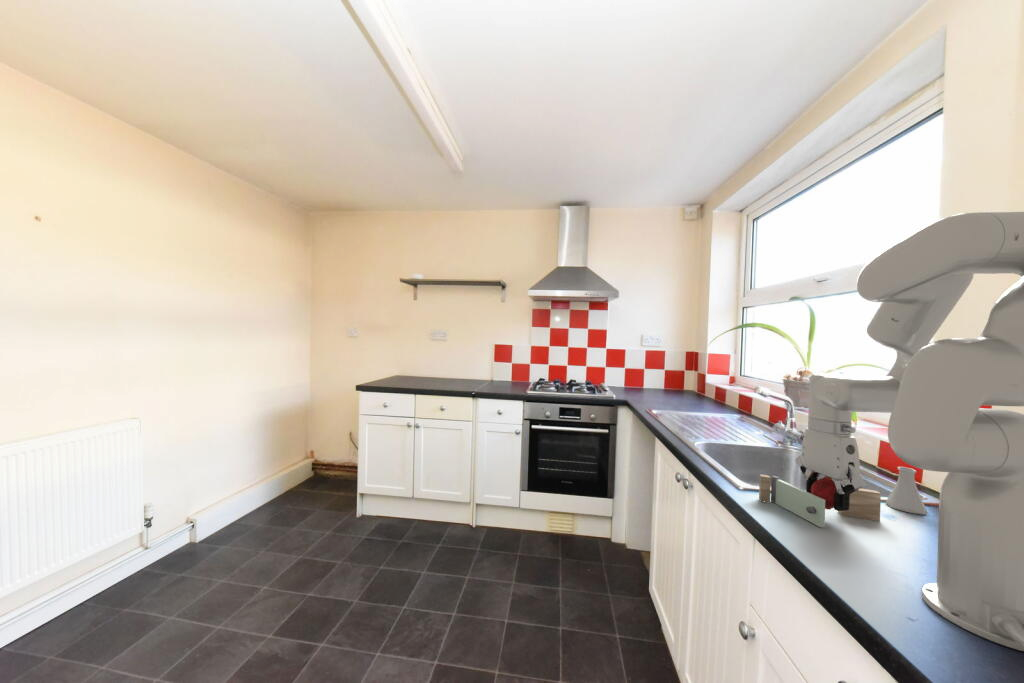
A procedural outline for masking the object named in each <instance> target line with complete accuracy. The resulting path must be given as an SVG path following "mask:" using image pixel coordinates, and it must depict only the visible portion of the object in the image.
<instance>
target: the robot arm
mask: <svg viewBox="0 0 1024 683" xmlns="http://www.w3.org/2000/svg"><path fill="white" fill-rule="evenodd" d="M975 274H977V275H978V274H984V275H985V274H986V275H989V274H992V275H993V274H996V275H997V274H998V275H999V274H1015V275H1018V276H1020V277H1021V278H1020V280H1018V281H1017V282H1016V283H1014V284H1013V285H1011V287H1009V288H1008V289H1007V290H1006V291H1005V292H1003V294H1001V295H1000V297H999V298H998V299H997V300H996V302H995V303H994V305H993V306H992V308H991V310H990V312H989V314H988V315H989V316H988V319H987V322H986V324H985V326H984V328H983V331H982V332H981V334H980V336H979V337H977V338H975V337H972V338H970V337H955V338H954V337H953V338H945V339H939V340H935V341H932V339H933V338H934V337H935V335H936V333H937V332H938V331H939V329H940V328H941V326H942V325H943V323H944V322H945V321H946V319H947V318H948V316H949V315H950V313H952V311H953V309H955V306H956V305H957V303H958V302H959V301H960V300H961V298H962V296H963V295H964V294H965V292H966V290H967V289H968V288H969V287H970V285H971V283H972V281H973V280H974V275H975ZM856 290H857V292H858V294H859V296H861V298H863V299H865V300H867V301H870V302H874V303H880V305H879V307H878V309H877V310H876V312H875V314H874V316H873V317H872V318H871V321H870V322H869V324H868V325H867V327H866V333H867V336H869V338H871V339H872V340H873V341H874V342H876V343H879V344H880V345H881V346H884V347H886V348H888V349H892V350H894V351H896V360H895V362H894V364H893V366H892V367H891V369H890V370H889V371H888V373H887V374H886V375H885V376H866V375H865V376H863V375H862V376H861V375H860V376H859V375H858V376H855V375H847V374H839V373H831V372H828V373H827V372H820V373H819V372H816V373H813V374H811V375H810V377H809V380H808V382H809V383H808V384H809V385H808V386H809V387H808V388H809V389H808V411H807V412H808V415H807V427H806V428H805V432H804V435H803V439H802V445H801V446H802V447H801V454H800V455H799V456H798V457H796V458H795V463H796V464H797V466H798V467H799V468H800V471H801V473H802V475H803V478H804V480H805V481H806V482H805V483H806V488H805V489H806V490H805V491H806V492H809V493H811V486H812V484H813V483H814V482H816V481H817V480H819V477H820V475H823V476H824V477H825V476H827V477H830V478H832V480H833V481H834V482H835V485H836V489H837V492H835V493H834V508H833V509H834V510H835V511H837V512H838V511H847V510H849V504H850V494H853V492H855V491H857V490H859V489H864V487H867V482H866V481H865V480H864V478H863V477H862V475H861V464H860V453H859V447H858V443H857V439H856V437H855V436H853V435H852V434H855V433H856V431H857V430H856V428H855V427H854V426H852V420H853V413H855V412H856V413H880V414H881V413H884V414H885V413H886V414H888V413H889V414H890V417H889V420H888V425H887V426H888V427H887V438H888V439H887V440H888V442H889V445H890V448H891V449H892V451H893V452H894V454H895V455H896V456H897V458H899V459H901V461H902V462H904V463H906V464H908V465H910V466H911V467H915V468H916V469H920V470H924V471H929V472H936V473H937V472H938V473H939V472H940V473H947V474H946V476H945V478H944V479H943V482H942V483H941V486H940V492H939V505H938V525H937V526H938V529H937V531H938V532H937V563H936V564H937V565H936V582H931V583H925V584H923V585H922V587H921V590H920V591H921V592H920V593H921V598H922V599H923V601H924V602H925V603H926V604H927V605H928V606H929V607H930V608H931V609H932V610H933V611H934V612H936V613H937V614H939V615H940V616H942V617H943V618H944V619H946V620H948V621H949V622H951V623H953V624H954V625H957V626H958V627H961V628H962V629H964V630H965V631H966V630H967V631H969V632H971V633H972V634H975V635H976V636H979V637H981V638H983V639H986V640H988V641H991V642H993V643H996V644H999V645H1002V646H1005V647H1007V648H1011V649H1013V650H1014V649H1015V650H1017V651H1021V652H1024V413H1021V412H1018V411H1017V412H1016V411H1011V410H1007V409H999V408H983V407H981V406H992V407H994V406H995V407H996V406H997V407H1024V211H995V212H994V211H993V212H992V211H991V212H986V211H985V212H983V211H982V212H981V211H980V212H965V213H958V214H953V215H949V216H947V217H944V218H941V219H938V220H936V221H934V222H932V223H930V224H928V225H926V226H924V227H923V228H921V229H920V230H917V231H915V232H914V233H913V234H910V235H909V236H907V237H905V238H903V239H901V240H899V241H898V242H896V243H895V244H893V245H891V246H890V247H888V248H886V249H885V250H883V251H882V252H879V253H878V254H877V255H875V256H873V258H872V259H870V261H868V262H867V263H866V264H865V265H864V266H863V268H862V269H861V271H860V272H859V274H858V276H857V280H856ZM931 341H932V342H931ZM851 481H852V482H851ZM843 486H844V487H843Z"/></svg>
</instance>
